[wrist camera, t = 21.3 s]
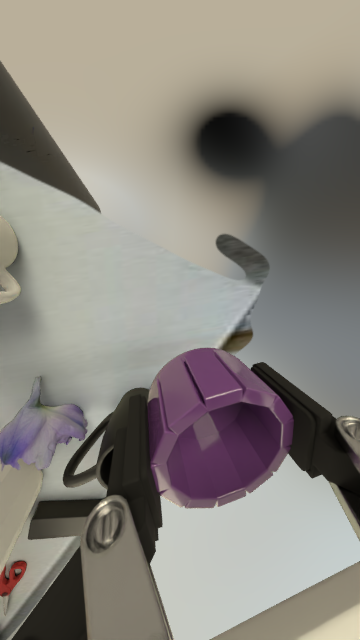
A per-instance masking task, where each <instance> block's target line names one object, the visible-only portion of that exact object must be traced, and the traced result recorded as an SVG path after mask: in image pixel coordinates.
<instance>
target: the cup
mask: <svg viewBox="0 0 360 640" xmlns="http://www.w3.org/2000/svg"><path fill="white" fill-rule="evenodd" d="M17 253H18V242H17V238H16V235H15V233H14V231H13V229H12V228H11V226H10V225H9V223H8V222H7V221H6V220H5V219H4V218H3V217H2V216H1V215H0V285H1V286H2V287H3V288H4V289H5V292H2V291H0V304H3V303H7V302H10V301H12V300H13V299H15V298H16V297H18V296H19V294H20V293H21V287H20V285H19V284H18V282H17V281H16V280H15V279H14V278H13V277H12V276H11V275H10V274H9V273H8V271H7V270H6V268H7V267H8V266H10V265H11V264H12V263H13V261H14V260H15V258H16V256H17Z"/></svg>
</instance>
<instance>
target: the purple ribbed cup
mask: <svg viewBox="0 0 360 640" xmlns="http://www.w3.org/2000/svg"><path fill="white" fill-rule="evenodd" d="M147 406H148V426H149V447H150V467H151V471H152V475H153V478H154V482H155V486H156V489H157V492H159V494H160V496H162V497H164V498H165V499H167V500H169V501H170V502H172V503H174V504H176V505H178V506H179V507H183V506H185V508H214V506H215V504H216V505H217V507H219V506H222V505H224V504H227V503H230V502H232V501H235V500H237V499H240V498H242V497H245V496H246V491H247V492H248V493H251V492H253V491H254V490H255V489H256V488H258V487H259V486H260V485H261V484H263V483H264V482H265V481H266V480H268V479H269V478H270V477H271V476H273V473H272V472H276V471H277V470H278V468H279V467H280V465H281V463H282V462H283V460H284V458H285V457H286V455H287V454H288V452H289V451H290V449H291V447H290V446H289V445H292V440H293V428H294V420H293V415H292V413H291V412H290V410H289V409H288V408H287V406H286V405H285V403H284V402H283V401H282V399H281V398H280V397H279V396H278V395H277V394H276V393H275V392H274V391H273V390H272V389H271V388H270V387H269V386H267V385H266V384H265V383H264V382H263V381H262V380H261V379H260V378H259V377H258V376H257V375H256V374H254V373H253V372H252V371H251V370H250V369H249V368H248V367H247V366H246V365H245V364H244V363H242V362H241V361H240V360H239V359H238V358H236V357H235V356H233V355H231V354H230V353H228V352H226V351H223V350H220V349H215V348H199V349H194V350H190V351H187V352H185V353H182V354H180V355H178V356H177V357H175V358H173V359H172V360H171V361H169V362H168V363H167V364H166V365H165V366H164V367H163V368H162V369H161V370H160V371H159V373H158V374H157V376H156V377H155V379H154V381H153V383H152V385H151V388H150V391H149V397H148V404H147Z"/></svg>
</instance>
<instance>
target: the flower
mask: <svg viewBox="0 0 360 640" xmlns="http://www.w3.org/2000/svg"><path fill="white" fill-rule="evenodd" d="M40 382H41V376H38V377H36V379H35V381H34V384H33V389H32V394H31V397H30V399H29V400H28V402H27V403H26V404H25V405H24V406H23V407H22V408H21V409H20V411H19V412H18V414H17V415H16V416H15V418H14V419H13V420H12V421H11V422H10V423H9V424H7V425H6V426H5V427H4V428H3V430H2V431H1V432H0V461H1V463H0V464H2V469H1V471H2V470H3V468H4V466H5V465H11V466H12V467H13V468H16V469H17V470H20V468H21V466H20V465H19V464H18V462H17V461H18V460H19V459H23V461H24V462H25V463H26V464H28V465H30V464H31V463H35V466H36V468H37V470H38V471H39V470H41V469H43V468H47V467H49V466H50V463H51V460H52V456H53V455H54V453H55V449H56V445H57V443H63V442H64V443H66V445H67V444H68V443H69V442H70V440H71V439H72V437H75V438H79V441H81V440H82V439H83V440H84V439H85V434H86V433H87V429H86V427H87V424H88V423H87V421H86V419H85V418H84V415H83V411H82V410H81V409H80V408H79V407H77V406H76V405H73V404H65V405H60V406H56V407H50V406H44V405H42V404H41V403H40V394H41V392H40Z"/></svg>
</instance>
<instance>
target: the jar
mask: <svg viewBox="0 0 360 640" xmlns="http://www.w3.org/2000/svg"><path fill="white" fill-rule="evenodd" d="M17 462H18V464H19V465H20V466H21V468H20V470H17V469H16V468H13V467H12V466H11V465H5V466H4V468H3V470H2V471H1V469H2V464H0V575H1V573H2V571H3V569H4V567H5V564H6V562H7V560H8V558H9V556H10V554H11V552H12V549H13V547H14V545H15V543H16V541H17V539H18V537H19V535H20V532H21V530H22V528H23V526H24V524H25V522H26V520H27V517H28V515H29V513H30V511H31V509H32V507H33V505H34V502H35V500H36V498H37V496H38V494H39V492H40V490H41V485H42V480H43V474H42V471H41V470H39V471H38V470H37V468H36V466H35V463H31V464H30V465H28V464H26V463H25V462H24V461H23V459H19V460H18V461H17ZM0 463H1V461H0Z"/></svg>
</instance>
